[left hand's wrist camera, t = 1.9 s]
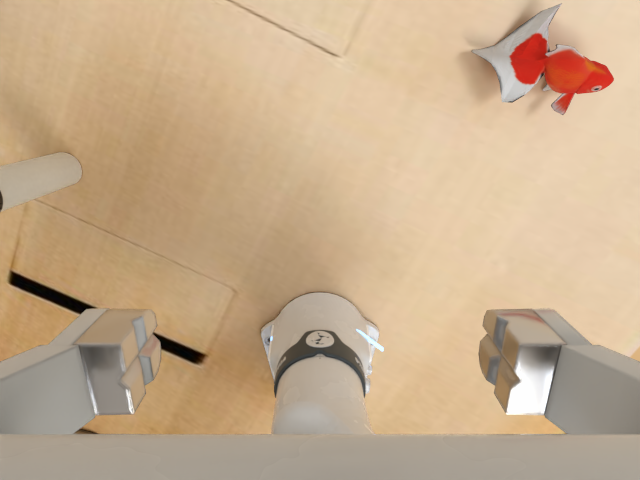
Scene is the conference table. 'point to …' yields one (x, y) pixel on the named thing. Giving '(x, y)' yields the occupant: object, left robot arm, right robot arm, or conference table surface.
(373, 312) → the conference table surface
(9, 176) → the white bottle
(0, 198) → the lid
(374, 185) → the conference table surface
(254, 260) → the conference table surface
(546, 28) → the fish
